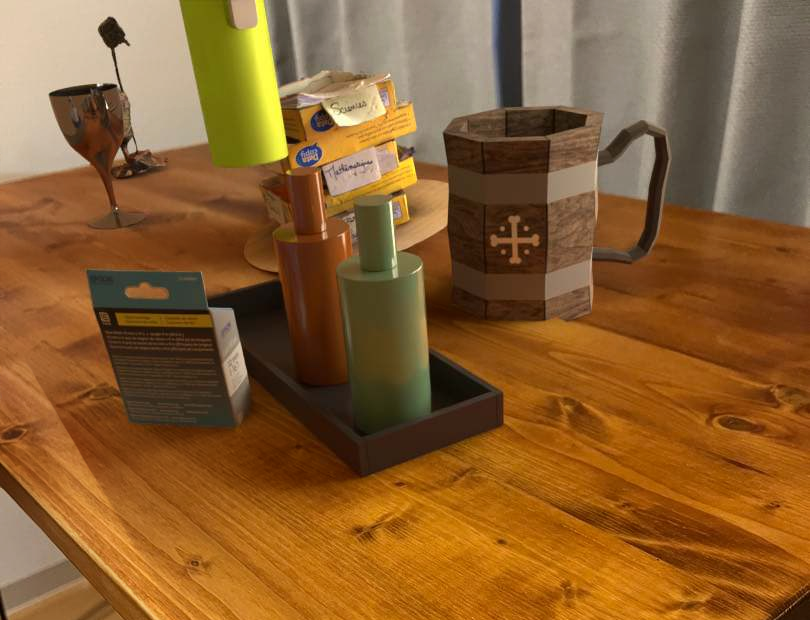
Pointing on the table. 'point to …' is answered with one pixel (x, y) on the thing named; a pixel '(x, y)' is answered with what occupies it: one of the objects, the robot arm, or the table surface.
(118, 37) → the plant with pod
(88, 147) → the wine glass
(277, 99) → the soap dispenser
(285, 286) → the amber bottle
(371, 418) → the green bottle
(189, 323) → the label tape box
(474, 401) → the tray
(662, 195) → the mug
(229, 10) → the robot arm
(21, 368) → the table surface
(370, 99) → the yellow box stack
